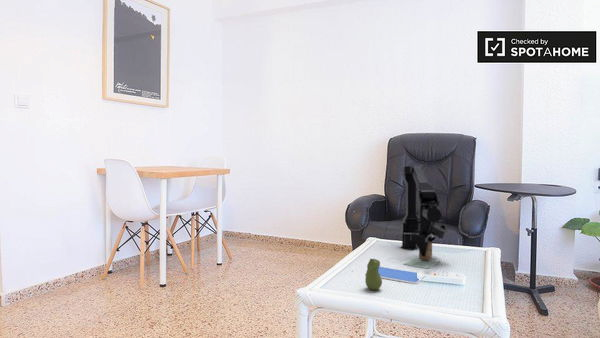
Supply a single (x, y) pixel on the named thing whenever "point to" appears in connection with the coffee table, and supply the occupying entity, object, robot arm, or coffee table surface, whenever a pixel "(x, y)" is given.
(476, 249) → the coffee table surface
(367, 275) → the pear
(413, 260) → the pale green flat panel
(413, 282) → the tablet computer
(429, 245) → the walnut block
